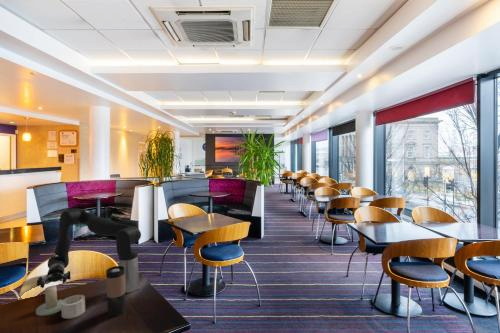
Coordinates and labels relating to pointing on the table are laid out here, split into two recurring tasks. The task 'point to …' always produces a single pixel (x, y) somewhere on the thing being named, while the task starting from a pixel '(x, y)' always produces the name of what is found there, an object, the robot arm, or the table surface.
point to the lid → (50, 302)
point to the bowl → (73, 306)
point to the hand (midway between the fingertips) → (53, 283)
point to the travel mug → (115, 290)
